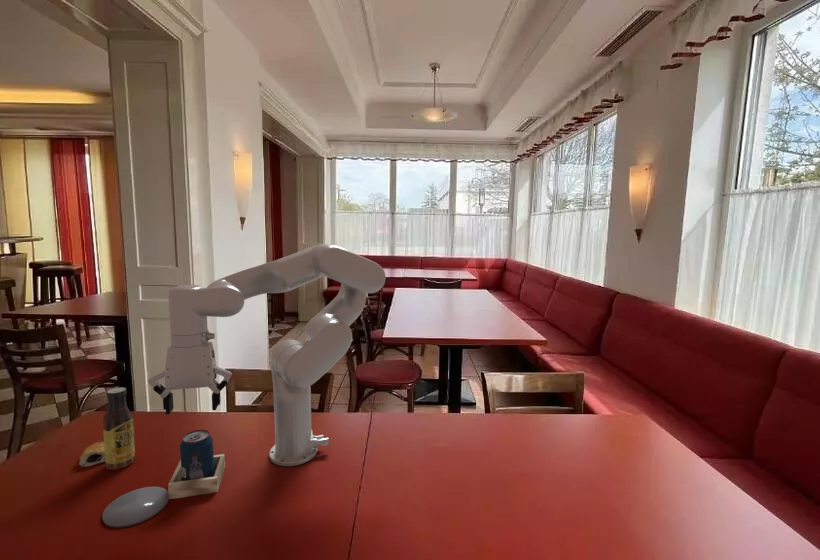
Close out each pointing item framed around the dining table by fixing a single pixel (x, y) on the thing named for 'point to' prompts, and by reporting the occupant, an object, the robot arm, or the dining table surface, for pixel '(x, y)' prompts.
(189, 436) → the soda can
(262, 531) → the dining table surface
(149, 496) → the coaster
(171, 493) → the cup holder
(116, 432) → the sauce bottle
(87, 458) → the pastry
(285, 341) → the robot arm
